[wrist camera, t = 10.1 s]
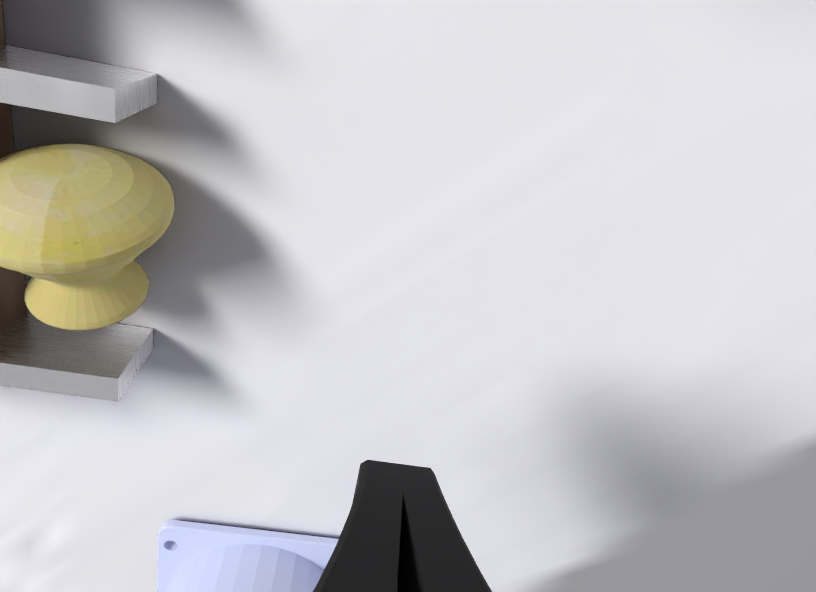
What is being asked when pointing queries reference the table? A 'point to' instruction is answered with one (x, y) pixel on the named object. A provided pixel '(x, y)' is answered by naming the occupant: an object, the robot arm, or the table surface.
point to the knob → (81, 230)
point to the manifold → (5, 289)
